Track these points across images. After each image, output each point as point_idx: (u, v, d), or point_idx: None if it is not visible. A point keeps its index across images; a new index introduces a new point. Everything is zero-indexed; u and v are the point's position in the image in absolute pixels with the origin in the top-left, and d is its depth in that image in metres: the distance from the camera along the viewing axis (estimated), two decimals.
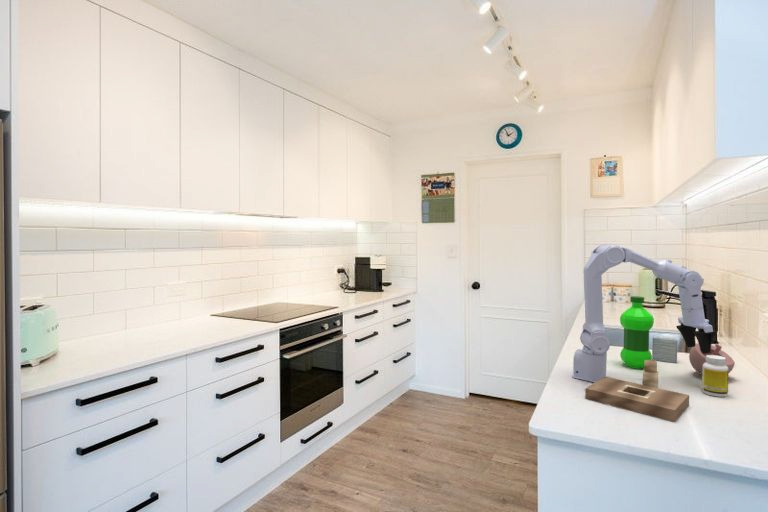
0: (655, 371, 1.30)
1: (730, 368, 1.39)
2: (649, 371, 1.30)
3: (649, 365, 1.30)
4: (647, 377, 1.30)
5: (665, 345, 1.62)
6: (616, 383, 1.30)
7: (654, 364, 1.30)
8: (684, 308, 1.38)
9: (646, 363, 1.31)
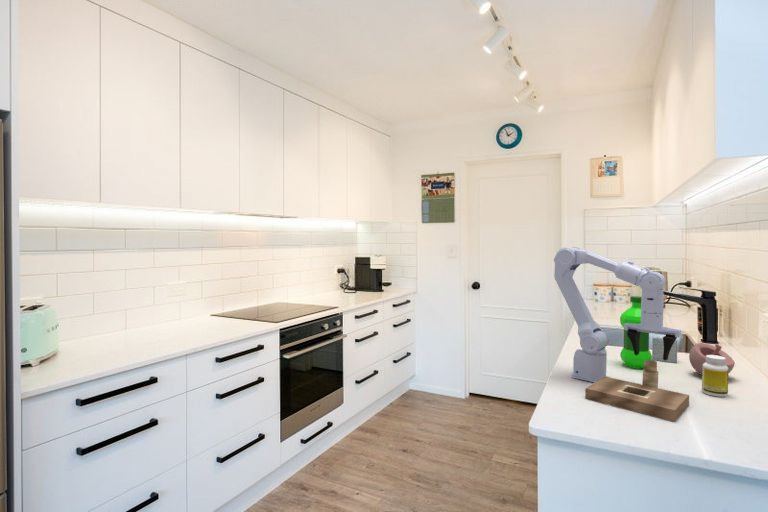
0: (655, 371, 1.30)
1: (730, 368, 1.39)
2: (649, 371, 1.30)
3: (649, 364, 1.30)
4: (647, 377, 1.30)
5: None
6: (616, 383, 1.30)
7: (654, 364, 1.30)
8: (641, 310, 1.32)
9: (646, 363, 1.31)
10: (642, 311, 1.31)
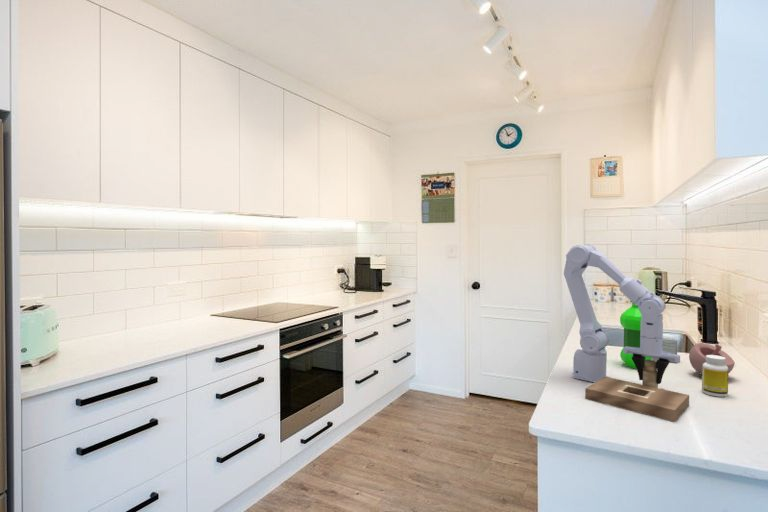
0: (655, 371, 1.30)
1: (730, 368, 1.39)
2: (649, 371, 1.30)
3: (649, 364, 1.30)
4: (647, 377, 1.30)
5: (665, 345, 1.62)
6: (616, 383, 1.30)
7: (654, 364, 1.30)
8: (640, 334, 1.32)
9: (646, 363, 1.31)
10: (641, 335, 1.31)
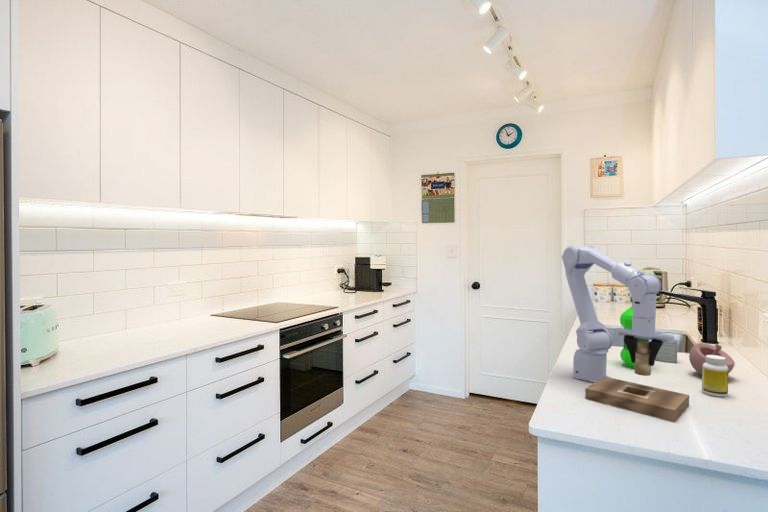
0: (648, 353, 1.25)
1: (730, 368, 1.39)
2: (642, 353, 1.25)
3: (642, 346, 1.25)
4: (640, 359, 1.25)
5: (665, 345, 1.62)
6: (616, 383, 1.30)
7: (647, 345, 1.24)
8: None
9: (638, 344, 1.25)
10: (632, 315, 1.27)
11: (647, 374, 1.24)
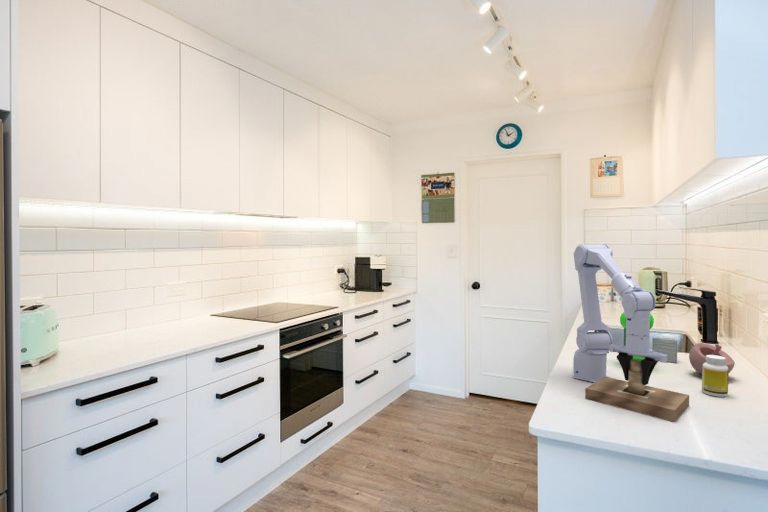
0: (641, 371, 1.21)
1: (730, 368, 1.39)
2: (635, 371, 1.22)
3: (635, 364, 1.21)
4: (632, 377, 1.22)
5: (665, 345, 1.62)
6: (616, 383, 1.30)
7: (640, 363, 1.21)
8: None
9: (631, 362, 1.22)
10: None
11: (640, 393, 1.21)
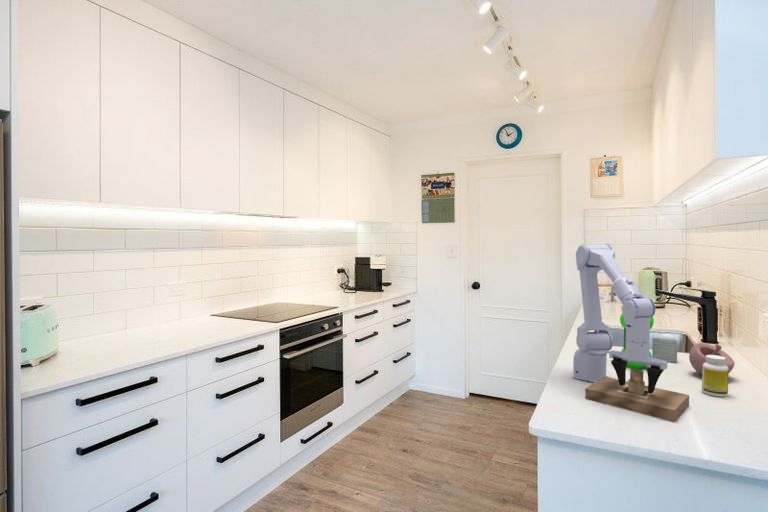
0: (641, 381, 1.21)
1: (730, 368, 1.39)
2: (634, 381, 1.22)
3: (634, 374, 1.22)
4: (632, 387, 1.22)
5: (665, 345, 1.62)
6: (616, 383, 1.30)
7: (640, 374, 1.21)
8: None
9: (631, 372, 1.22)
10: None
11: None
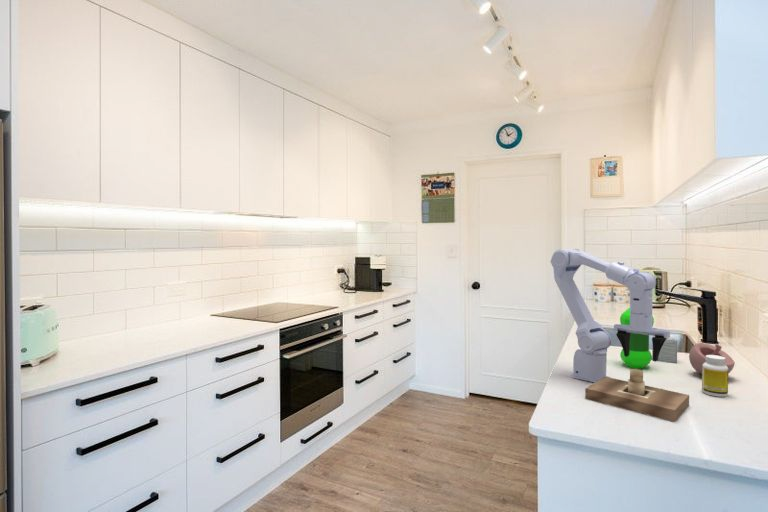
0: (641, 381, 1.21)
1: (730, 368, 1.39)
2: (634, 381, 1.22)
3: (634, 374, 1.22)
4: (632, 387, 1.22)
5: (665, 345, 1.62)
6: (616, 383, 1.30)
7: (639, 374, 1.21)
8: (630, 311, 1.31)
9: (631, 372, 1.22)
10: (630, 311, 1.30)
11: None
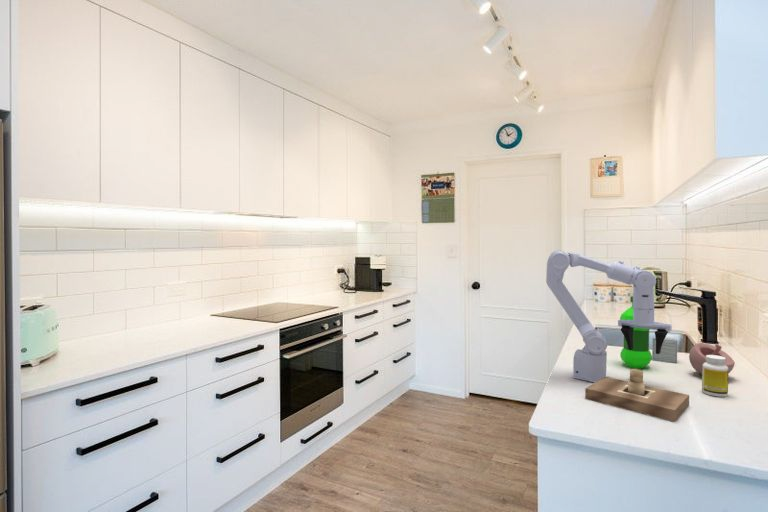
0: (641, 381, 1.21)
1: (730, 368, 1.39)
2: (634, 381, 1.22)
3: (634, 374, 1.21)
4: (632, 387, 1.22)
5: (665, 345, 1.62)
6: (616, 383, 1.30)
7: (639, 374, 1.21)
8: (634, 307, 1.37)
9: (631, 372, 1.22)
10: (637, 308, 1.36)
11: None
